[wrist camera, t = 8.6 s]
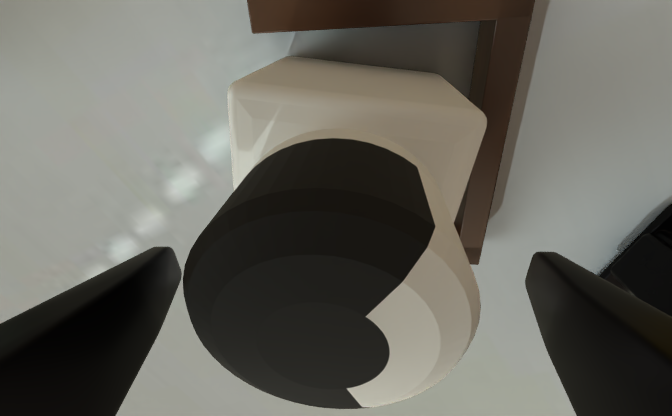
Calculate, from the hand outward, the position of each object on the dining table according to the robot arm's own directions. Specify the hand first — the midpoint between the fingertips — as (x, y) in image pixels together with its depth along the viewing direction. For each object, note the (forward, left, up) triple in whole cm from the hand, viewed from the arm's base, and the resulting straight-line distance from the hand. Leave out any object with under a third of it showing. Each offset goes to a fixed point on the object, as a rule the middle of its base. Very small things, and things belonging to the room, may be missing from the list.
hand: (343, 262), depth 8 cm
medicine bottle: (0, 0, -10) cm, 10 cm away
